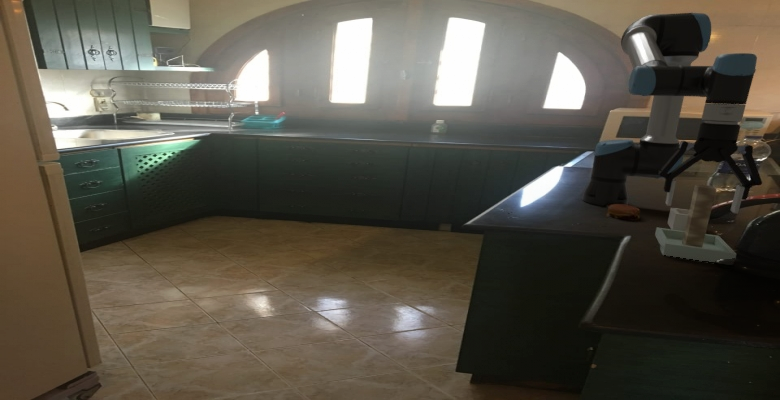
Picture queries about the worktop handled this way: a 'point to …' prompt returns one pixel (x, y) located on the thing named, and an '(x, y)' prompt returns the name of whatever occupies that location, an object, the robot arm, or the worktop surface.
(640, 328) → the worktop surface
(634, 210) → the burger
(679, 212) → the white square box
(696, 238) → the peg
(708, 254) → the tray
